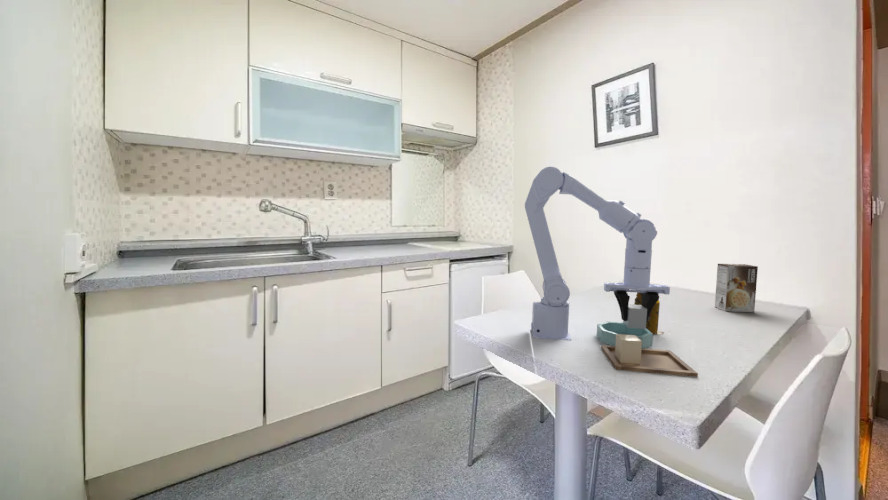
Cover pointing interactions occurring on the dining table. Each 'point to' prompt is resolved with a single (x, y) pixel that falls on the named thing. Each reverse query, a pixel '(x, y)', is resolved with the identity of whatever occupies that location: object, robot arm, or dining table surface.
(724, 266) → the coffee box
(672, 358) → the tray
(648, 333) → the bowl
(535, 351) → the dining table surface
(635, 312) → the grey block
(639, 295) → the condiment
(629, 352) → the beige block
